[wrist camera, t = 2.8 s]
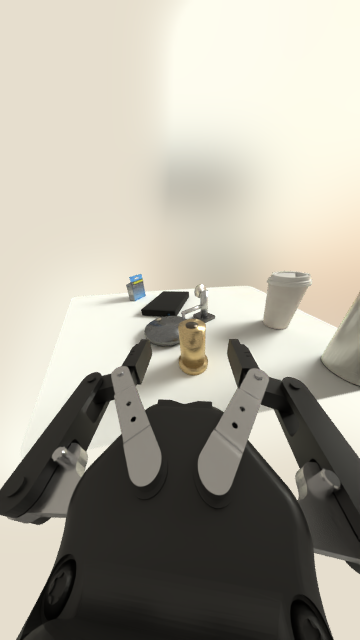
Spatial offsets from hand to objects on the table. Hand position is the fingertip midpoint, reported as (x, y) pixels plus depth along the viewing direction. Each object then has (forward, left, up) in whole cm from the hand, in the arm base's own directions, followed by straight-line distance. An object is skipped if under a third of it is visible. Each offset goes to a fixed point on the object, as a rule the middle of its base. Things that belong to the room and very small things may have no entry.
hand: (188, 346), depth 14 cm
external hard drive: (-21, -43, -15) cm, 50 cm away
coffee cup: (-37, -5, -15) cm, 41 cm away
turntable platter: (-9, -23, -15) cm, 29 cm away
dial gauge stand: (-21, -23, -15) cm, 34 cm away
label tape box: (-14, -64, -15) cm, 67 cm away
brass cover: (-7, -9, -15) cm, 19 cm away
